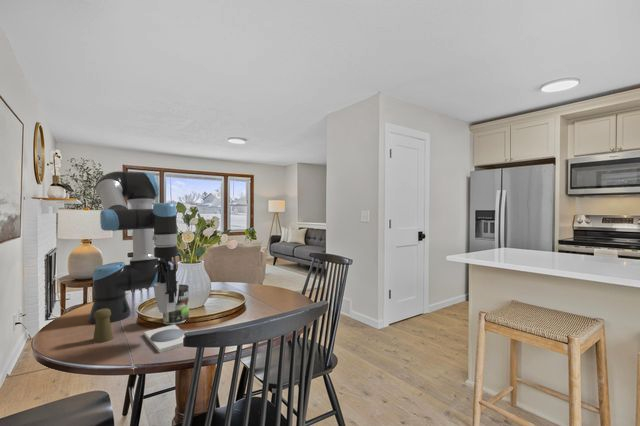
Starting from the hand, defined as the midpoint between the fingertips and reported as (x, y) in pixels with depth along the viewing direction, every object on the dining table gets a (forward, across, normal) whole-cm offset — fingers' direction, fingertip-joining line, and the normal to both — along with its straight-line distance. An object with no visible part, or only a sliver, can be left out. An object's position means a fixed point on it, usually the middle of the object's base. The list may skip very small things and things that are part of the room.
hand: (167, 308), depth 115 cm
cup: (+1, 0, 0) cm, 1 cm away
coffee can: (+11, -18, +8) cm, 23 cm away
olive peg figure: (+11, -16, -18) cm, 26 cm away
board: (+11, 0, 0) cm, 11 cm away
